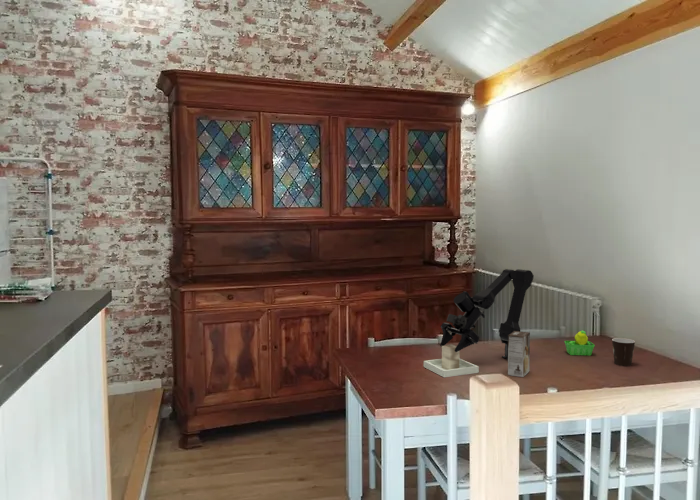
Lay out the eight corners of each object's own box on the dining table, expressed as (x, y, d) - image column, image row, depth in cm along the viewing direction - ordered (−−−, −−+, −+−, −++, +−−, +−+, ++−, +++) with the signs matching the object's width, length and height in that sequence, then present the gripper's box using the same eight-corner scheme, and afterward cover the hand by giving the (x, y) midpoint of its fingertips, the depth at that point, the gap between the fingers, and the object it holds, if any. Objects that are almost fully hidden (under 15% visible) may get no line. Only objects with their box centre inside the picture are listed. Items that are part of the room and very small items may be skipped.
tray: (478, 372, 220) (478, 366, 220) (444, 377, 214) (444, 371, 214) (456, 362, 235) (456, 356, 235) (423, 366, 229) (423, 360, 229)
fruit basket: (589, 352, 251) (589, 327, 250) (596, 357, 242) (596, 331, 242) (563, 351, 252) (563, 327, 252) (569, 356, 244) (569, 331, 243)
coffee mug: (615, 360, 237) (616, 337, 236) (637, 363, 231) (638, 340, 230) (605, 365, 229) (605, 341, 228) (627, 369, 223) (628, 345, 222)
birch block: (451, 365, 228) (451, 344, 227) (459, 368, 224) (459, 347, 223) (441, 367, 226) (441, 345, 225) (449, 370, 221) (449, 348, 221)
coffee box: (513, 369, 225) (514, 330, 223) (529, 371, 221) (530, 332, 220) (507, 375, 217) (507, 334, 216) (523, 377, 213) (524, 336, 212)
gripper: (444, 303, 233) (422, 332, 228) (474, 310, 217) (451, 341, 212) (458, 320, 237) (437, 348, 233) (489, 327, 221) (467, 358, 216)
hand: (447, 348), depth 223 cm, fingers open, 9 cm apart
